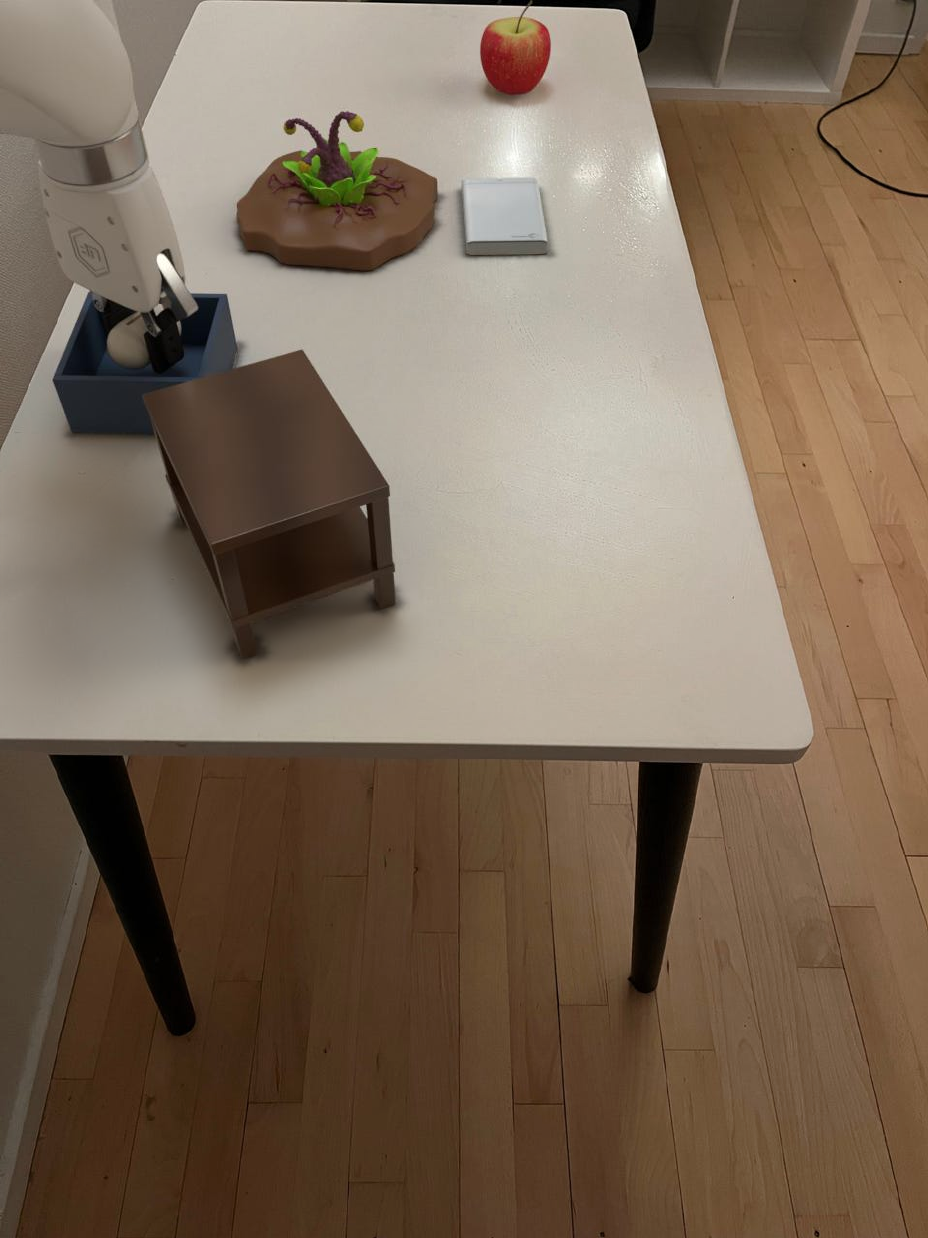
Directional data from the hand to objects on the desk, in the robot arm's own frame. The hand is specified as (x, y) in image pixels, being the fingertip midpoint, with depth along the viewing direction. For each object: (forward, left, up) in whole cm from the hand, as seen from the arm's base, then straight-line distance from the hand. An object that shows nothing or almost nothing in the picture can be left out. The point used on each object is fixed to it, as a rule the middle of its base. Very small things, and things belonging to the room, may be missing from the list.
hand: (148, 353), depth 90 cm
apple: (+55, +37, -4) cm, 66 cm away
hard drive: (+40, +11, -4) cm, 42 cm away
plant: (+25, +19, -4) cm, 32 cm away
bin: (0, 0, -4) cm, 4 cm away
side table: (+3, -24, -4) cm, 25 cm away
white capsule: (0, 0, 0) cm, 0 cm away
